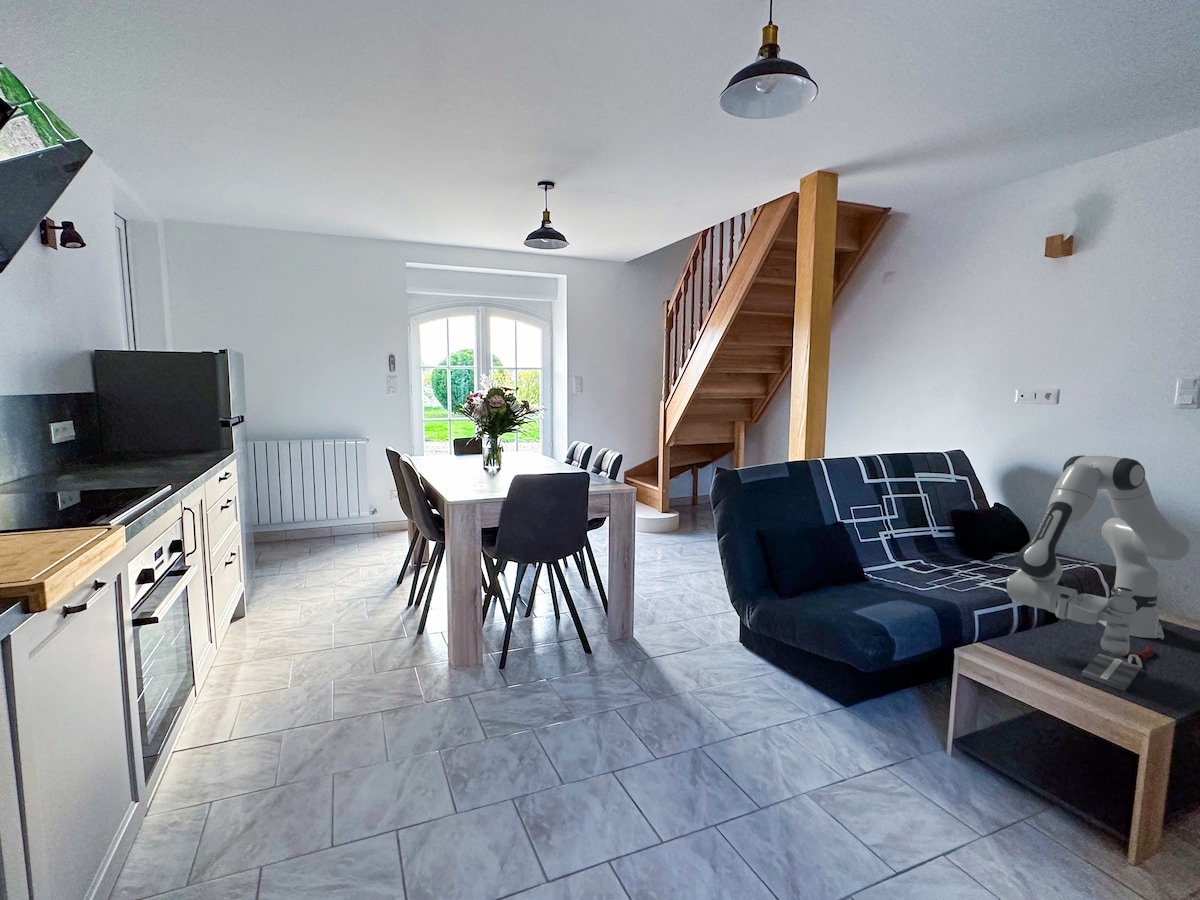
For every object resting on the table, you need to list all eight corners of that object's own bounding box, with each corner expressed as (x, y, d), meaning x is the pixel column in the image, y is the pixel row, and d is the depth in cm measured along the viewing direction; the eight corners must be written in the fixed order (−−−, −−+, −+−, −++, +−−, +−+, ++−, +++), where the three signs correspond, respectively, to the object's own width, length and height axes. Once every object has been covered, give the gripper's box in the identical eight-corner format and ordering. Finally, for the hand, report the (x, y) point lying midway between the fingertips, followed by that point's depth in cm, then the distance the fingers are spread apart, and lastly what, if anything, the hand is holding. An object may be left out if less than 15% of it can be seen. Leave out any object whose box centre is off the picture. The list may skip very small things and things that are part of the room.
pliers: (1111, 664, 187) (1112, 656, 187) (1105, 642, 204) (1107, 634, 203) (1160, 676, 181) (1162, 668, 180) (1151, 652, 197) (1152, 645, 196)
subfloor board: (1097, 657, 190) (1098, 652, 190) (1139, 670, 183) (1140, 665, 182) (1081, 676, 178) (1081, 671, 177) (1125, 691, 170) (1126, 685, 170)
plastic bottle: (1122, 660, 175) (1134, 595, 172) (1094, 650, 181) (1105, 586, 178) (1132, 656, 178) (1144, 592, 175) (1105, 646, 184) (1116, 583, 181)
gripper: (1073, 604, 194) (1129, 619, 184) (1055, 619, 181) (1114, 636, 171) (1077, 585, 193) (1133, 599, 183) (1058, 599, 180) (1118, 615, 170)
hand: (1124, 617), depth 177 cm, fingers closed on plastic bottle, 6 cm apart
